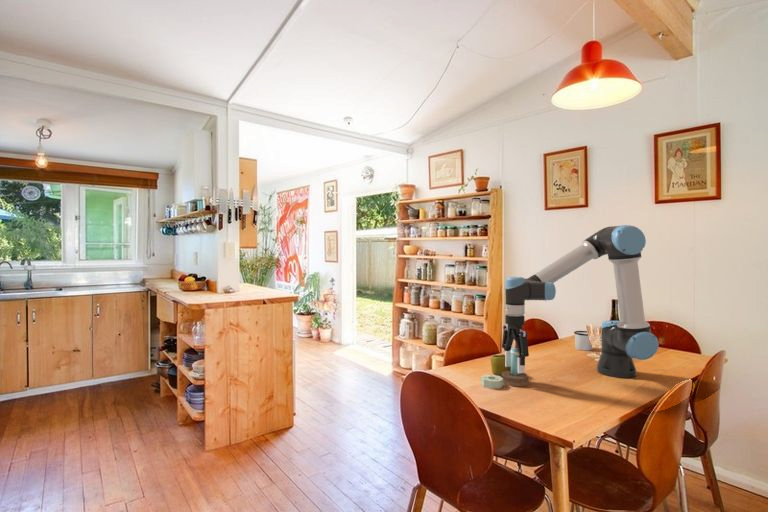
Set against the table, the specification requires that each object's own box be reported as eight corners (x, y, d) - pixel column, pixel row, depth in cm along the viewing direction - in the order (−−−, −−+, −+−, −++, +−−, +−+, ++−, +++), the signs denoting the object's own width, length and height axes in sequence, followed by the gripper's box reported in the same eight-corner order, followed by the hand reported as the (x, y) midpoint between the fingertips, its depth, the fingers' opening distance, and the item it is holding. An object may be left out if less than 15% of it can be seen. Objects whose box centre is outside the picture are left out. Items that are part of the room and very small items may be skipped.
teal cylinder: (518, 381, 168) (518, 347, 167) (518, 383, 165) (518, 349, 164) (510, 380, 168) (510, 347, 168) (510, 383, 165) (510, 349, 165)
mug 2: (587, 352, 214) (587, 335, 214) (570, 348, 222) (570, 332, 222) (598, 348, 221) (599, 332, 221) (581, 345, 229) (582, 329, 229)
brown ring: (526, 379, 170) (526, 371, 170) (528, 387, 160) (528, 379, 160) (501, 377, 173) (501, 370, 173) (502, 385, 163) (502, 377, 163)
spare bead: (497, 381, 168) (497, 374, 167) (505, 388, 160) (505, 380, 160) (478, 382, 167) (478, 375, 166) (486, 389, 159) (486, 381, 159)
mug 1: (518, 374, 170) (510, 351, 173) (494, 380, 172) (487, 357, 175) (517, 371, 182) (509, 349, 184) (494, 377, 184) (487, 355, 186)
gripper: (493, 311, 175) (493, 363, 176) (521, 319, 155) (521, 378, 155) (508, 310, 177) (508, 361, 178) (539, 318, 157) (538, 376, 157)
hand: (514, 369), depth 166 cm, fingers open, 8 cm apart
